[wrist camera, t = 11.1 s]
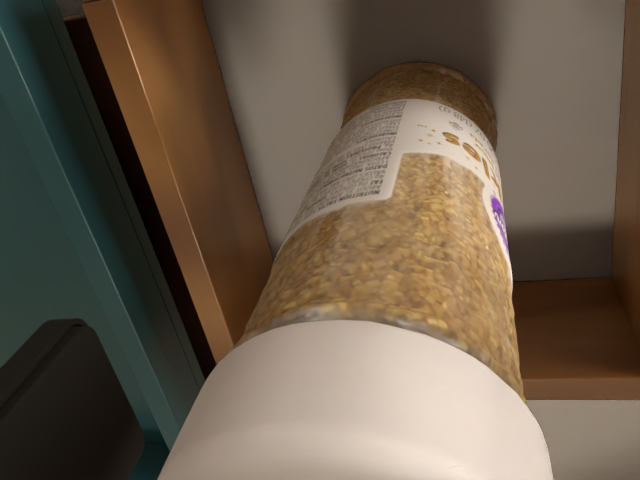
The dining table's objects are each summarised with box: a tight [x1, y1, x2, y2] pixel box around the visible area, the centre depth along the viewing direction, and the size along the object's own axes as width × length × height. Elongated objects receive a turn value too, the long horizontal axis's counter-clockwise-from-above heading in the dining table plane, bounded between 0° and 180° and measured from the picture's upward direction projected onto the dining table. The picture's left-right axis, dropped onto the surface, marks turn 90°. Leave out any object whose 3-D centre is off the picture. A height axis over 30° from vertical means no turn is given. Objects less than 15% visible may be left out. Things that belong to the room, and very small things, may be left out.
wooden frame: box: [81, 0, 640, 400], centre depth 15 cm, size 13×13×4 cm
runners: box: [62, 13, 217, 381], centre depth 24 cm, size 26×14×2 cm, turn 11°
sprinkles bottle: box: [157, 62, 553, 480], centre depth 12 cm, size 5×5×13 cm
